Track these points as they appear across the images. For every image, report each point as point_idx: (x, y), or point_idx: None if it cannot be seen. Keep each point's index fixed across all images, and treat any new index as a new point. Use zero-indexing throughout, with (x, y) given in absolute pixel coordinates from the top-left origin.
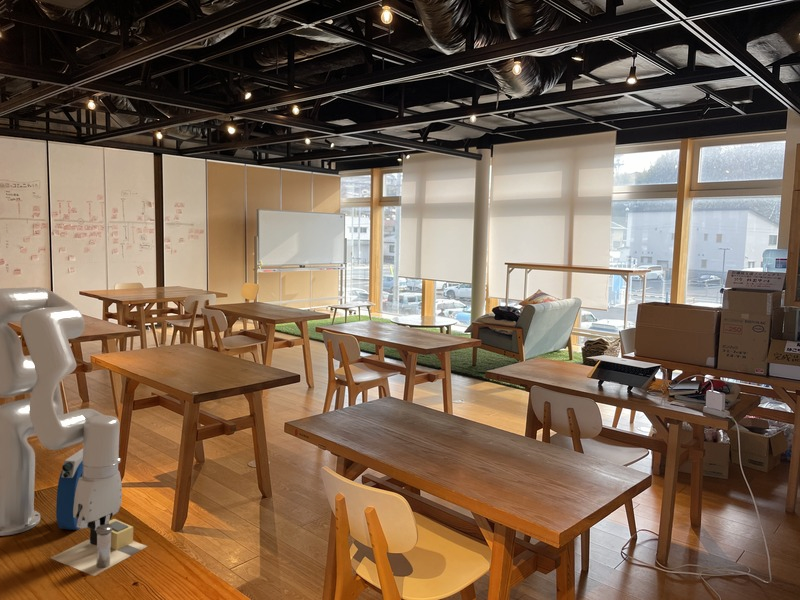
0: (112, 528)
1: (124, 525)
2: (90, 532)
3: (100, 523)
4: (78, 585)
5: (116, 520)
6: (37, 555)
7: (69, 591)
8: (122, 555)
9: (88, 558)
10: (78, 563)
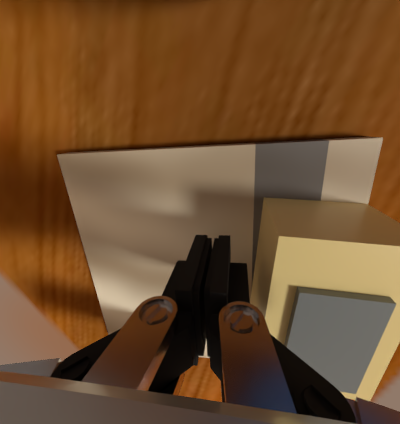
0: (286, 342)
1: (353, 376)
2: (163, 293)
3: (217, 360)
4: (82, 320)
5: None
6: (51, 49)
7: (57, 320)
8: None
9: (152, 272)
10: (113, 269)
